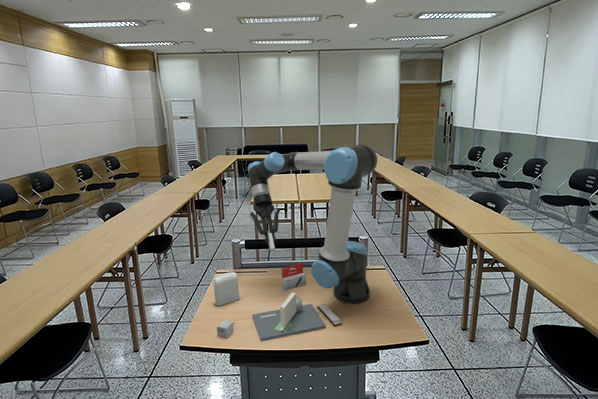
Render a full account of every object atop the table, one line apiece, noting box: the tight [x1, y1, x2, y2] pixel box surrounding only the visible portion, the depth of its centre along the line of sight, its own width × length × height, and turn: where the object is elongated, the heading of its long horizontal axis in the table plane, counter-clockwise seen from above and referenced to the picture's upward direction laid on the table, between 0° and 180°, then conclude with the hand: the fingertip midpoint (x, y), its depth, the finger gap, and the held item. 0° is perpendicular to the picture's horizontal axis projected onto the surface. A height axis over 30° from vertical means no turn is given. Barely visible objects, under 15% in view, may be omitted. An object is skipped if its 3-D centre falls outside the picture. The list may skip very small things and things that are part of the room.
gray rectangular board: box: [251, 303, 327, 342], centre depth 140 cm, size 24×16×1 cm, turn 107°
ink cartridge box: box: [281, 262, 307, 291], centre depth 166 cm, size 2×11×10 cm, turn 121°
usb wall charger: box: [216, 319, 235, 339], centre depth 135 cm, size 4×7×4 cm, turn 160°
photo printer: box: [212, 271, 240, 307], centre depth 154 cm, size 10×4×12 cm, turn 123°
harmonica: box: [316, 304, 343, 328], centre depth 144 cm, size 15×3×2 cm, turn 23°
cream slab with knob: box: [279, 292, 303, 331], centre depth 139 cm, size 17×4×8 cm, turn 159°
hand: (272, 249), depth 152 cm, fingers closed
